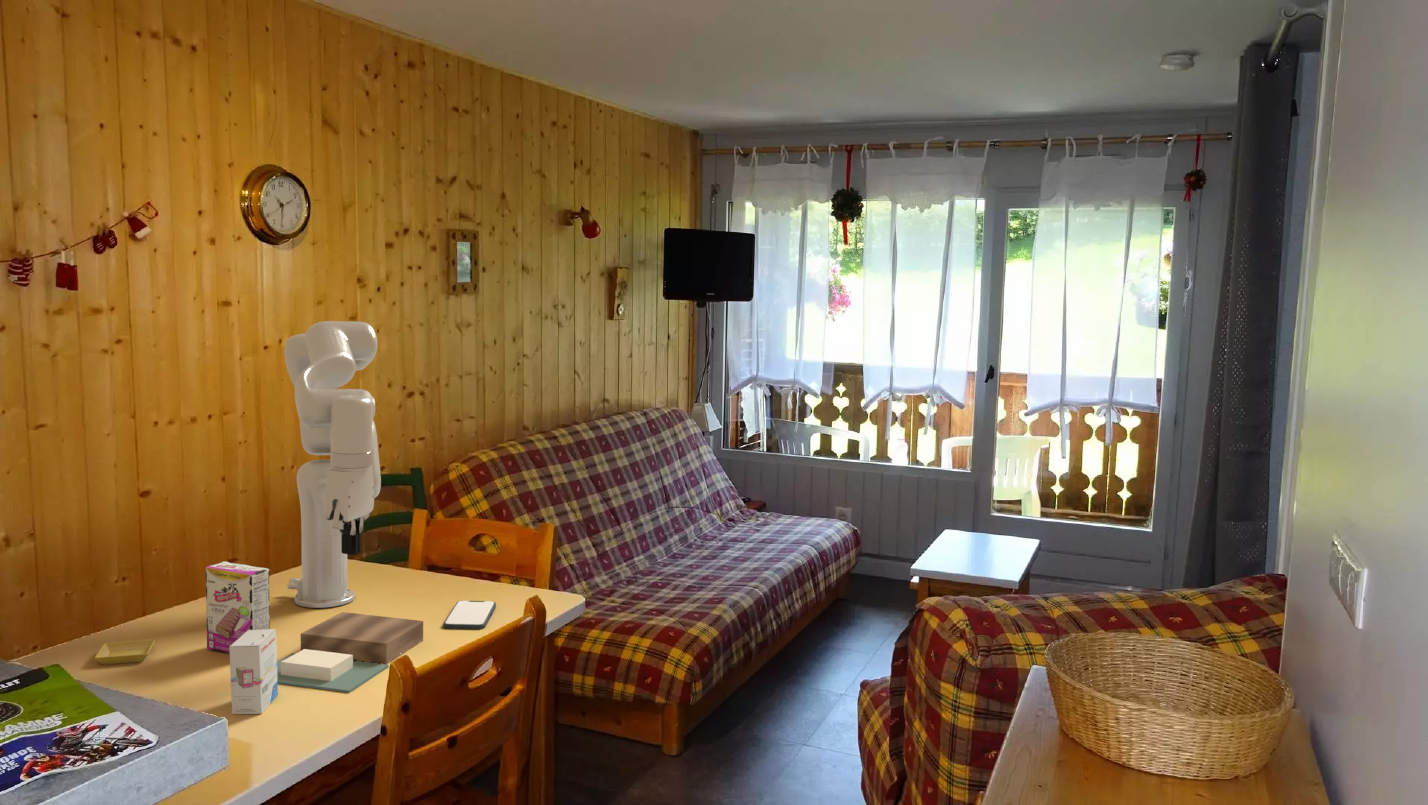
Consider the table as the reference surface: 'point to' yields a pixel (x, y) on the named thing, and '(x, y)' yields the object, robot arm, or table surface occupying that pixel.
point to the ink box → (253, 671)
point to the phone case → (470, 615)
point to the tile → (317, 664)
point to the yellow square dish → (124, 652)
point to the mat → (341, 683)
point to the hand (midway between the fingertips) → (351, 553)
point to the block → (364, 636)
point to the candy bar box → (235, 602)
